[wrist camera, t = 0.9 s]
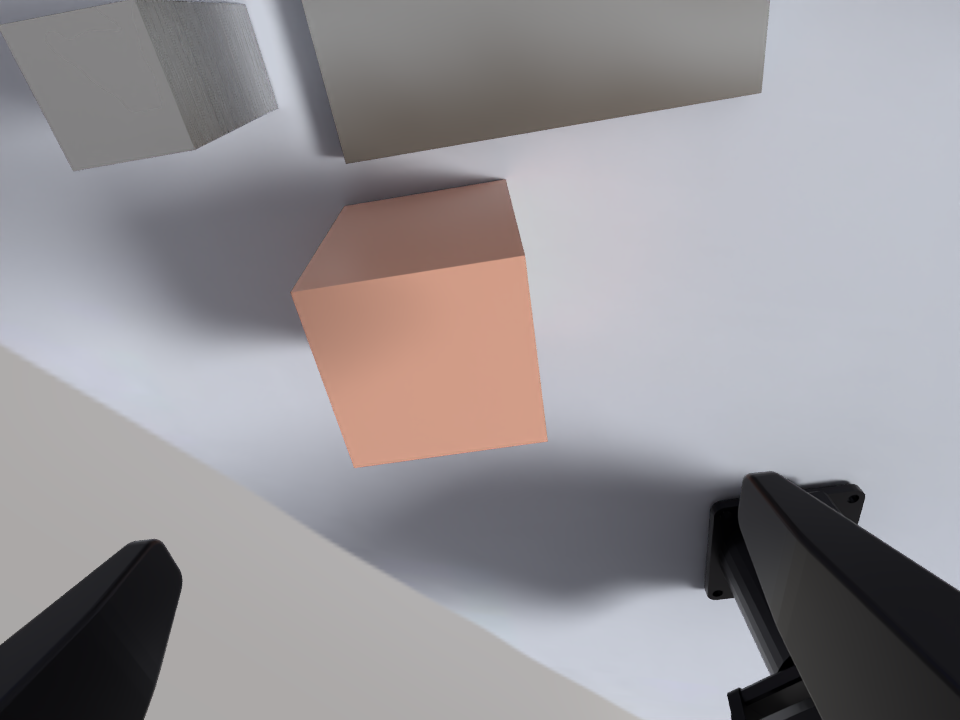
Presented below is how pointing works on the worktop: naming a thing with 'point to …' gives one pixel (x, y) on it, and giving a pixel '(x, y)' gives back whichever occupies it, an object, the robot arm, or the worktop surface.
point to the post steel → (142, 77)
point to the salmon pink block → (425, 326)
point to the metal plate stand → (523, 64)
